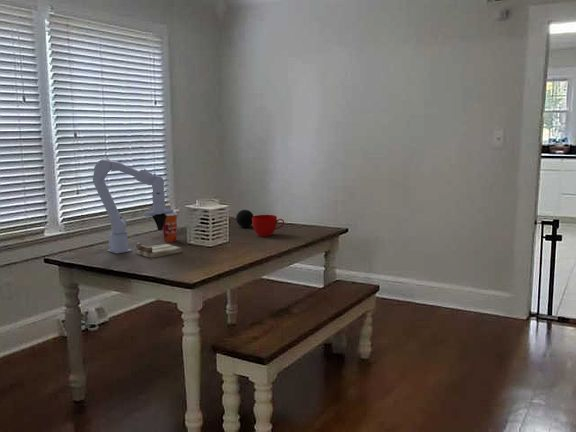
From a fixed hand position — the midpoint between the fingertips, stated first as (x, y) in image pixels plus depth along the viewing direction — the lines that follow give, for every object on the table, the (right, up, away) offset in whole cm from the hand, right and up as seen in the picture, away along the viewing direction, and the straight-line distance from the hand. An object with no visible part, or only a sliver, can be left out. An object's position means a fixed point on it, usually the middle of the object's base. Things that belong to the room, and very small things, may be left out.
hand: (160, 229), depth 285 cm
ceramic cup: (+51, -4, +31) cm, 59 cm away
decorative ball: (+36, 0, +56) cm, 67 cm away
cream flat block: (0, -10, -6) cm, 12 cm away
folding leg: (-5, -9, -10) cm, 15 cm away
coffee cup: (+1, -6, +21) cm, 22 cm away
